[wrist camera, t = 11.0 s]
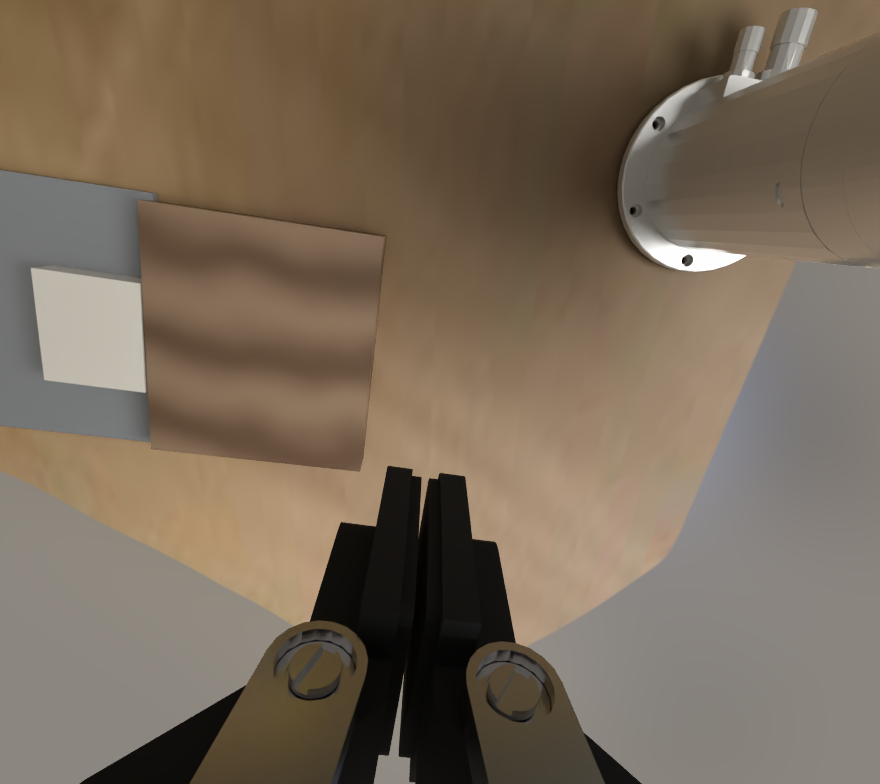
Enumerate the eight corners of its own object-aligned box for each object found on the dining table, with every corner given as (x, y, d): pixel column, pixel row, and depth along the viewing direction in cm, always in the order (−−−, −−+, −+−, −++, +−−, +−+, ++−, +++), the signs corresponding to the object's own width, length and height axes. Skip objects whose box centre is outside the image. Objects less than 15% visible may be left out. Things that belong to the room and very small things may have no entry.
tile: (52, 265, 34) (30, 267, 32) (154, 280, 35) (139, 283, 33) (63, 372, 37) (44, 380, 35) (158, 384, 37) (144, 392, 35)
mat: (-127, 150, 32) (-135, 149, 31) (156, 193, 33) (152, 193, 33) (-70, 414, 38) (-76, 417, 37) (167, 441, 39) (164, 443, 39)
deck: (157, 201, 33) (137, 199, 31) (386, 236, 35) (383, 236, 32) (167, 435, 39) (150, 449, 37) (363, 457, 41) (359, 471, 38)
